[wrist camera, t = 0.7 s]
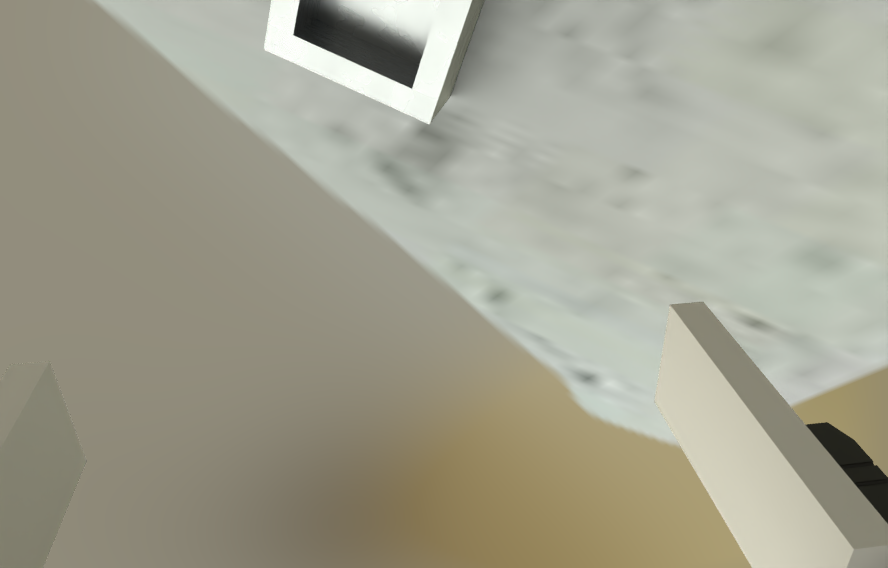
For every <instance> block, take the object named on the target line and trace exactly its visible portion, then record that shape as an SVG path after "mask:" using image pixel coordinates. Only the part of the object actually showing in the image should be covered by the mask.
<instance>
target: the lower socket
mask: <svg viewBox="0 0 888 568" xmlns="http://www.w3.org/2000/svg"><path fill="white" fill-rule="evenodd" d="M483 3H484V0H271V6H270V13H269V19H268V26H267V32H266V38H265V45H264V50H266V51H268V52H271V53H273V54H275V55H277V56H279V57H282V58H284V59H286V60H288V61H290V62H293V63H295V64H297V65H299V66H302V67H304V68H306V69H308V70H310V71H313V72H315V73H317V74H319V75H321V76H324V77H326V78H328V79H330V80H332V81H335V82H337V83H339V84H341V85H344V86H346V87H348V88H350V89H352V90H355V91H357V92H359V93H361V94H363V95H366V96H368V97H370V98H372V99H375V100H377V101H379V102H381V103H383V104H386V105H388V106H390V107H392V108H394V109H397V110H399V111H401V112H403V113H405V114H408V115H410V116H412V117H414V118H417V119H419V120H421V121H423V122H425V123H428V124H430V123H431V122H432V120H433V119H434V118H435V116H436V115H437V114H438V112H439V111H440V110H441V108H442V107H443V106H444V104H445V103H446V102H447V100H448V99H449V98H450V96H451V93H452V90H453V87H454V85H455V82H456V79H457V76H458V73H459V70H460V68H461V65H462V62H463V59H464V56H465V53H466V51H467V48H468V45H469V42H470V39H471V37H472V34H473V31H474V28H475V25H476V22H477V20H478V17H479V14H480V11H481V8H482V5H483Z"/></svg>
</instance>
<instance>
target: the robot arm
mask: <svg viewBox="0 0 888 568" xmlns="http://www.w3.org/2000/svg"><path fill="white" fill-rule="evenodd" d="M654 402H655V403H656V405H657V407H658V409H659V410H660V412H661V414H662V415H663V417H664V419H665V420H666V422H667V424H668V426H669V427H670V429H671V431H672V432H673V434H674V436H675V437H676V439H677V441H678V443H679V444H680V446H681V448H682V449H683V451H684V453H685V454H686V456H687V458H688V460H689V461H690V463H691V465H692V466H693V468H694V469H695V471H696V473H697V475H698V476H699V478H700V480H701V482H702V483H703V485H704V487H705V488H706V490H707V492H708V494H709V495H710V497H711V498H712V500H713V502H714V504H715V505H716V507H717V509H718V511H719V512H720V514H721V516H722V517H723V519H724V521H725V522H726V524H727V526H728V527H729V529H730V531H731V532H732V534H733V536H734V538H735V539H736V541H737V543H738V544H739V546H740V548H741V550H742V551H743V553H744V555H745V556H746V558H747V560H748V561H749V563H750V565H751V567H752V568H888V477H887V476H886V475H885V474H884V473H883V472H882V471H881V470H880V468H879V467H878V466H877V465H876V466H874V464H873V461H872V459H871V458H870V457H869V456H868V455H867V454H866V453H865V452H864V451H863V449H861V447H860V446H859V445H858V444H857V443H856V442H855V440H853V439H852V438H850V437H849V436H847V435H846V434H844V433H843V432H841V431H840V430H838V429H837V428H835V427H834V426H832V425H830V424H829V423H827V422H826V423H818V424H808V425H805V424H804V423H803V421H802V420H801V419H800V418H799V417H798V415H797V414H796V413H795V412H794V410H793V409H792V408H791V407H790V406H789V404H788V403H787V402H786V401H785V400H784V398H783V397H782V396H781V395H780V394H779V392H778V391H777V390H776V389H775V388H774V386H773V385H772V384H771V383H770V382H769V380H768V379H767V378H766V377H765V376H764V374H763V373H762V372H761V371H760V370H759V368H758V367H757V366H756V365H755V364H754V362H753V361H752V360H751V359H750V357H749V356H748V355H747V354H746V353H745V351H744V350H743V349H742V348H741V347H740V345H739V344H738V343H737V342H736V341H735V339H734V338H733V337H732V336H731V335H730V333H729V332H728V331H727V330H726V329H725V327H724V326H723V325H722V324H721V323H720V321H719V320H718V319H717V318H716V317H715V315H714V314H713V313H712V312H711V311H710V309H709V308H708V307H707V306H706V305H705V303H704V302H694V303H683V304H672V305H670V308H669V314H668V320H667V327H666V333H665V339H664V345H663V351H662V357H661V363H660V370H659V376H658V382H657V388H656V394H655V400H654ZM86 462H87V460H86V457H85V455H84V452H83V449H82V447H81V444H80V441H79V439H78V436H77V433H76V430H75V428H74V425H73V422H72V420H71V417H70V415H69V412H68V409H67V406H66V403H65V401H64V398H63V396H62V393H61V390H60V387H59V385H58V382H57V379H56V377H55V374H54V371H53V368H52V366H51V363H50V361H45V362H34V363H23V364H13V365H10V366H9V367H8V369H7V370H6V372H5V374H4V375H3V377H2V378H1V380H0V568H43V567H44V564H45V562H46V559H47V557H48V555H49V552H50V549H51V547H52V545H53V542H54V540H55V537H56V535H57V533H58V530H59V528H60V525H61V523H62V520H63V518H64V515H65V513H66V510H67V508H68V506H69V503H70V501H71V498H72V496H73V493H74V491H75V489H76V486H77V484H78V481H79V479H80V476H81V474H82V471H83V469H84V467H85V464H86Z"/></svg>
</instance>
